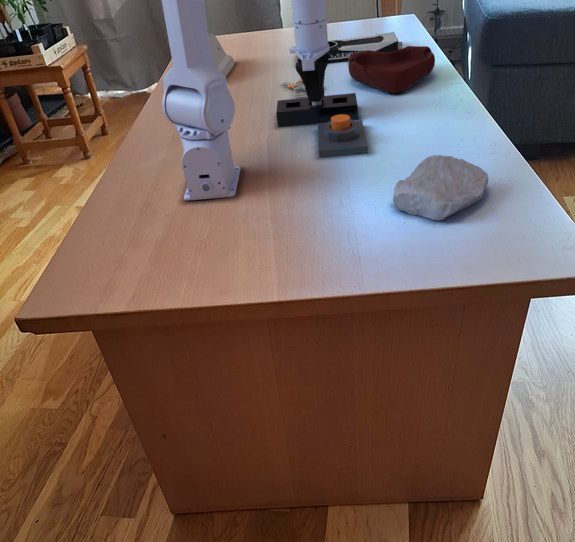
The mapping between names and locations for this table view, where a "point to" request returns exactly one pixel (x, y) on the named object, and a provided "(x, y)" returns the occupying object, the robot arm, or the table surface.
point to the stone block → (440, 187)
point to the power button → (340, 122)
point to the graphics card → (362, 46)
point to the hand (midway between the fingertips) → (316, 97)
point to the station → (342, 140)
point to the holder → (315, 110)
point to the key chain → (296, 87)
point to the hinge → (220, 56)
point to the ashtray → (392, 67)
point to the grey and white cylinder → (321, 97)
